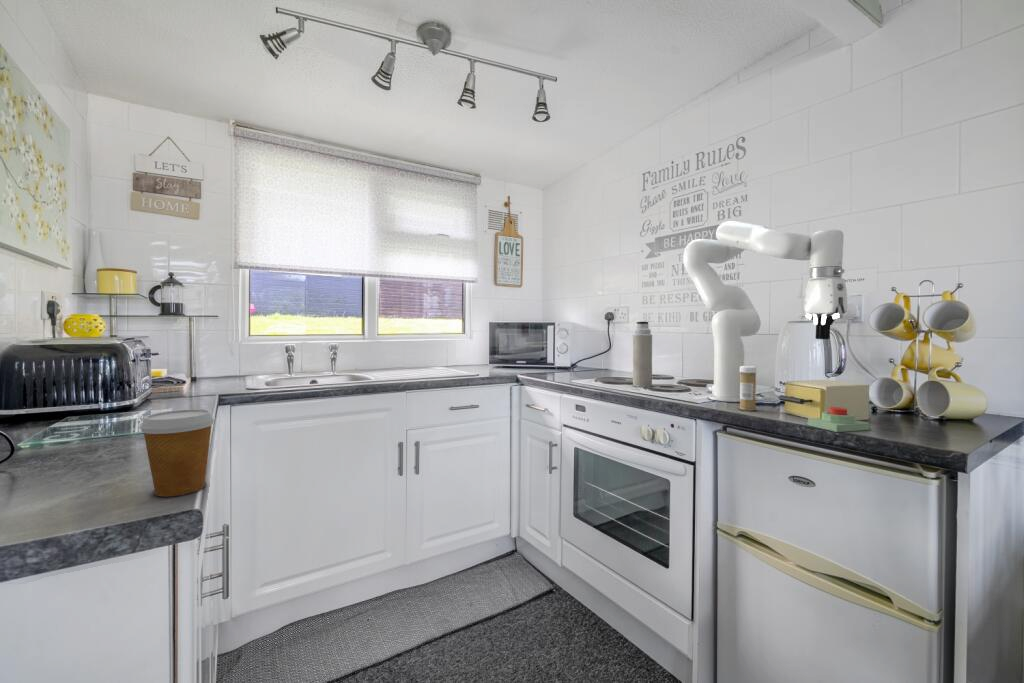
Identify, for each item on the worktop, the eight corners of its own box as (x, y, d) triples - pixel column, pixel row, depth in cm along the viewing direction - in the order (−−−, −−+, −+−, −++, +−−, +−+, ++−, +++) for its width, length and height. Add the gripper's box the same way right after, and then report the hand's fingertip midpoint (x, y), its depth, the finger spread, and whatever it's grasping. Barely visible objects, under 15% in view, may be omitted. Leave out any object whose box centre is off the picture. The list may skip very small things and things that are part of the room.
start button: (825, 414, 114) (825, 407, 114) (836, 413, 114) (837, 406, 114) (839, 417, 110) (839, 409, 110) (850, 416, 111) (850, 409, 111)
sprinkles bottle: (758, 410, 136) (759, 366, 136) (750, 411, 134) (751, 367, 133) (744, 407, 140) (744, 365, 139) (736, 409, 137) (736, 366, 137)
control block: (807, 425, 115) (807, 411, 115) (838, 423, 117) (838, 409, 117) (836, 432, 107) (837, 417, 107) (869, 429, 110) (869, 415, 109)
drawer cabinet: (825, 422, 118) (826, 386, 118) (786, 413, 131) (786, 381, 130) (868, 419, 122) (869, 384, 122) (826, 411, 134) (826, 379, 134)
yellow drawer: (807, 419, 118) (807, 390, 118) (772, 411, 129) (772, 384, 129) (859, 416, 122) (860, 387, 122) (822, 408, 133) (822, 383, 133)
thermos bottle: (648, 384, 197) (649, 321, 197) (654, 387, 190) (654, 321, 189) (630, 384, 198) (631, 321, 197) (635, 387, 190) (635, 321, 189)
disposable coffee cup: (229, 478, 75) (227, 408, 75) (190, 500, 66) (188, 419, 65) (171, 479, 75) (169, 408, 74) (124, 501, 65) (121, 420, 65)
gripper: (861, 272, 120) (858, 340, 121) (813, 277, 134) (810, 337, 135) (839, 271, 118) (835, 340, 119) (792, 276, 133) (790, 337, 134)
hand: (822, 338), depth 127 cm, fingers closed
